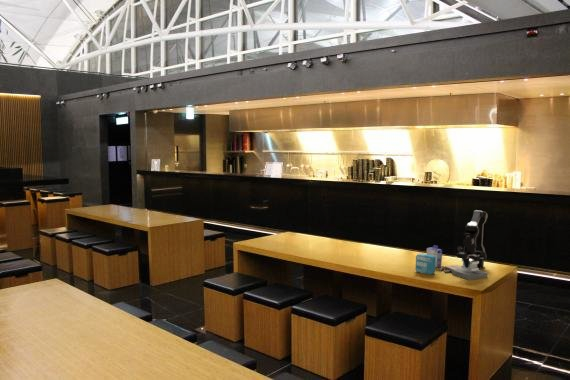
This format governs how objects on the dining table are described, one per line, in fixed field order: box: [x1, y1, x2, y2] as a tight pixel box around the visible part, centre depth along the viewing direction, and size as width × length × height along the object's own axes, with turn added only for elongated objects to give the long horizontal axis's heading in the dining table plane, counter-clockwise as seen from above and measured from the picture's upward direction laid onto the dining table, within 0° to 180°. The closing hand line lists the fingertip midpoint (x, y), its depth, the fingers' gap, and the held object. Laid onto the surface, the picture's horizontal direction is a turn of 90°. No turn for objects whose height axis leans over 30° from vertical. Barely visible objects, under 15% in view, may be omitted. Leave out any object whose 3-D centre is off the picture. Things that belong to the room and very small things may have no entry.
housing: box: [460, 258, 479, 271], centre depth 316 cm, size 6×9×6 cm, turn 24°
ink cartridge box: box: [426, 244, 443, 268], centre depth 341 cm, size 10×6×14 cm, turn 33°
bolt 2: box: [443, 269, 453, 274], centre depth 324 cm, size 6×2×2 cm, turn 114°
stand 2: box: [451, 268, 489, 281], centre depth 316 cm, size 16×15×3 cm
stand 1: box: [444, 264, 462, 271], centre depth 329 cm, size 11×11×2 cm
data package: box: [414, 253, 436, 275], centre depth 323 cm, size 12×4×12 cm, turn 53°
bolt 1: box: [438, 265, 446, 272], centre depth 329 cm, size 6×2×2 cm, turn 139°
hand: (469, 267), depth 316 cm, fingers closed on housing, 6 cm apart
